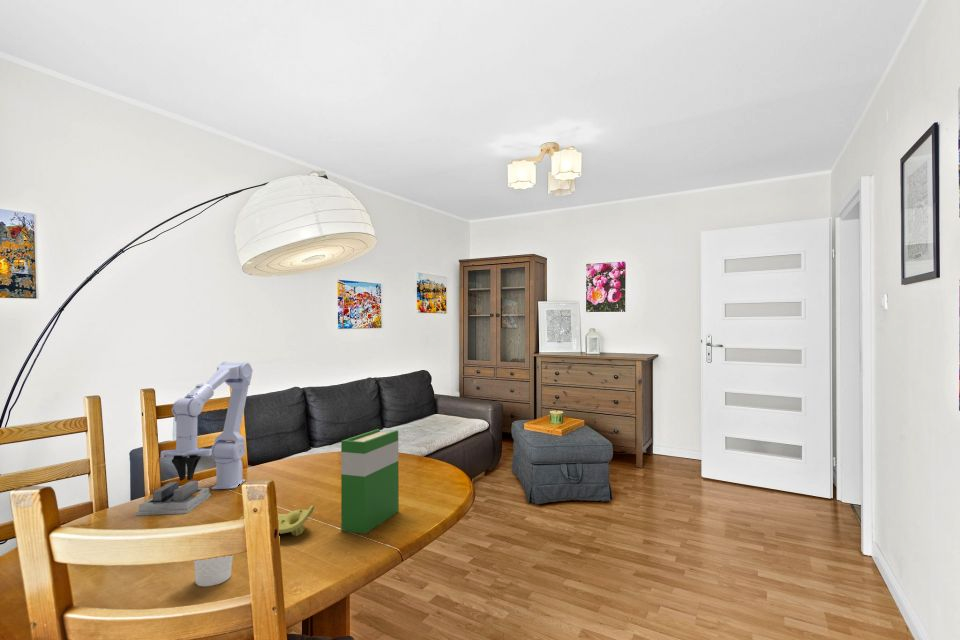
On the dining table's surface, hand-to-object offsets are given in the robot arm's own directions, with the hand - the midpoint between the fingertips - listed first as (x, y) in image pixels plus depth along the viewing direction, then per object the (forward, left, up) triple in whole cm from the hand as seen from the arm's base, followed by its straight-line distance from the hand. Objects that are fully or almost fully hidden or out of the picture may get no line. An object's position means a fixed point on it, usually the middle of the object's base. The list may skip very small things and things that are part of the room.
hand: (186, 479), depth 152 cm
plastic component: (+27, +36, -8) cm, 45 cm away
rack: (0, -3, -8) cm, 8 cm away
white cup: (+51, +30, -8) cm, 60 cm away
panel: (0, 0, -7) cm, 7 cm away
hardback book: (+21, +60, -8) cm, 64 cm away
